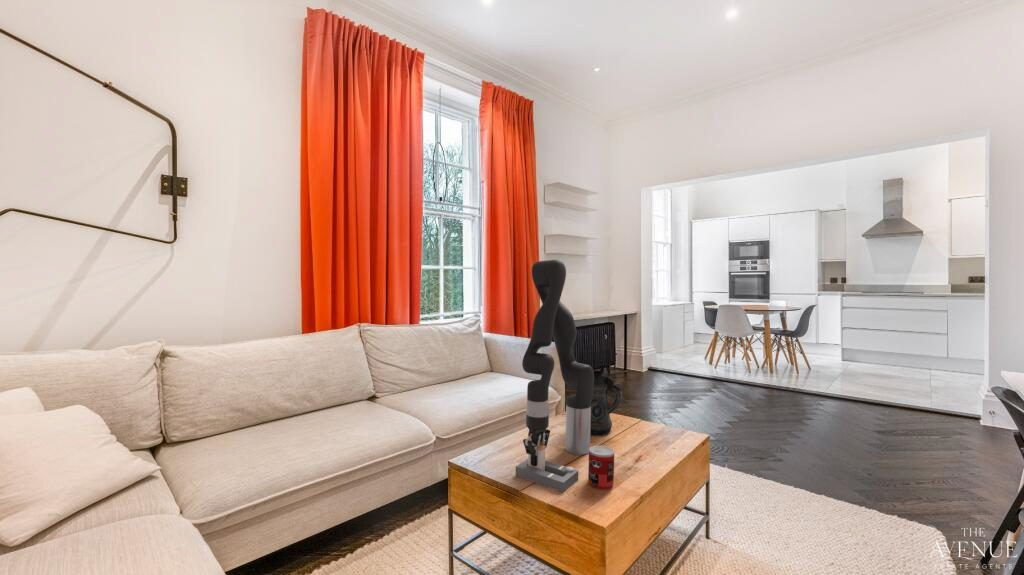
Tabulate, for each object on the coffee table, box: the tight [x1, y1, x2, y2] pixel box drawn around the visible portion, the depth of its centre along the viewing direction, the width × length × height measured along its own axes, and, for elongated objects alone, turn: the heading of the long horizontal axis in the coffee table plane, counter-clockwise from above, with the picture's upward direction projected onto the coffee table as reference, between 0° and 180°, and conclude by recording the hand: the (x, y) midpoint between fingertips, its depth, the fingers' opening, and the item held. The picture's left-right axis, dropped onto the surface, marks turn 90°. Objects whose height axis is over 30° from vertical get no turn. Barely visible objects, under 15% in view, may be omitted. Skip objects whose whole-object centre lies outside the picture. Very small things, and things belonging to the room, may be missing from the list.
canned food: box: [587, 445, 615, 490], centre depth 138 cm, size 8×8×11 cm
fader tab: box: [527, 444, 547, 471], centre depth 144 cm, size 3×5×10 cm, turn 54°
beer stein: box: [590, 370, 623, 437], centre depth 186 cm, size 16×19×25 cm
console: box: [515, 458, 579, 493], centre depth 142 cm, size 10×18×4 cm, turn 54°
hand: (536, 463), depth 144 cm, fingers closed on fader tab, 2 cm apart
